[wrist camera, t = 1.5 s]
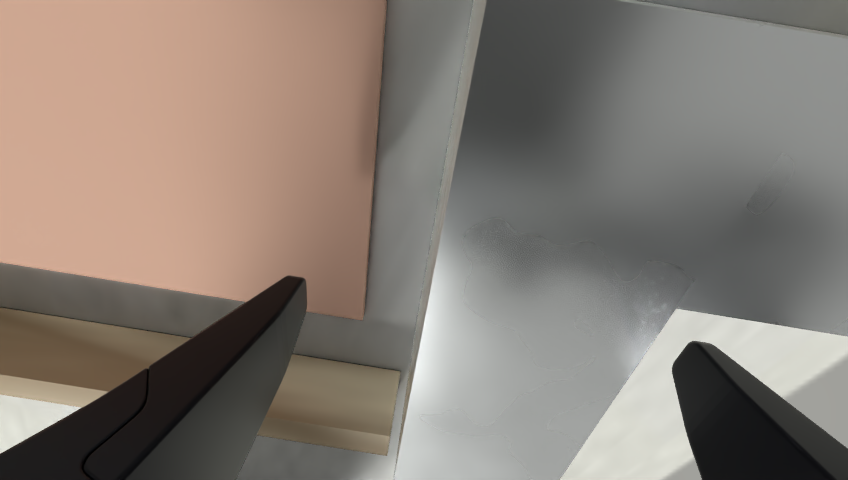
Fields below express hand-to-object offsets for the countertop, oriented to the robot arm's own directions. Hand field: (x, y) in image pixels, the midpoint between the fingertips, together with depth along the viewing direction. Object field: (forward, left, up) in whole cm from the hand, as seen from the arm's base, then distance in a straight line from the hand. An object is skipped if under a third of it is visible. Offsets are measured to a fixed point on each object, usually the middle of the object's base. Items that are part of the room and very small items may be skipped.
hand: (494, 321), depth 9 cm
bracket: (+2, -2, -3) cm, 4 cm away
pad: (+2, +10, -3) cm, 11 cm away
